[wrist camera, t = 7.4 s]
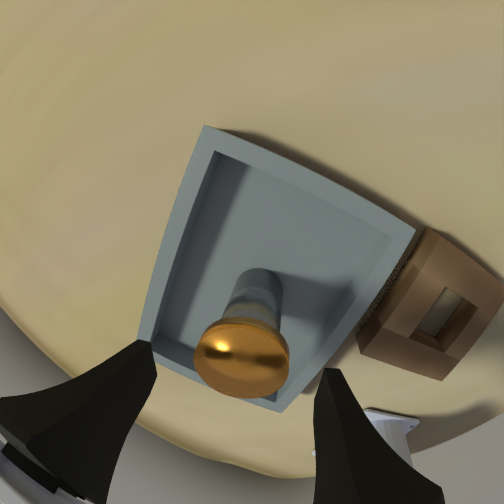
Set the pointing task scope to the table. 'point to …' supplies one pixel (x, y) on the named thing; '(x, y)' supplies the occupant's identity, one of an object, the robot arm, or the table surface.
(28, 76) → the table surface
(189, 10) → the table surface
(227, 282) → the tray
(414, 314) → the holder
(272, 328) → the pin
